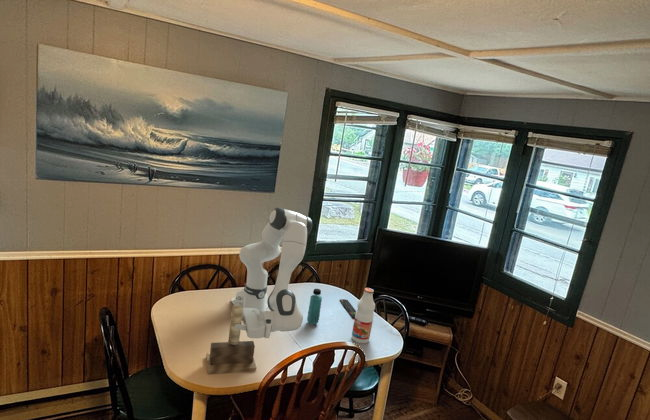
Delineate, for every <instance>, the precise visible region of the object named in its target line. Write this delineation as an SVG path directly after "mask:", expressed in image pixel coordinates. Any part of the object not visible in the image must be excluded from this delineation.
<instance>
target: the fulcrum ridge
mask: <svg viewBox="0 0 650 420" xmlns="http://www.w3.org/2000/svg"><path fill="white" fill-rule="evenodd" d="M255 347H256V346H255V342H254V340H246V341H245V340H244V341H243V340H242V341H240V340H239V343H238V344H236V345H232V344H229V342H228V341H222V342H218V341H217V342H211V343H210V349H209V354H208V353H207V354H206V355H205V358H206V359H205V360H206V369H207V370H208V371H207V374H208V375H213V374H214V375H215V374H217V373H218V374H227V373H228V374H230V373H231V374H232V373H243V372H245V373H247V372H257V365H256V360H255V358H254V355H255V349H256V348H255Z"/></svg>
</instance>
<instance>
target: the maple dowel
mask: <svg viewBox="0 0 650 420" xmlns="http://www.w3.org/2000/svg"><path fill="white" fill-rule="evenodd" d="M242 311H243V307H242V306H240V305H232V306H231V313H230V314H231V315H230V321H229V322H230V323H229V333H228V341H227V342H229V344H232V345H236V344H238V343H239V342H240V337H241V329H235V328H234V324H235V323H239V324H241V325H242V321H241V320H242Z"/></svg>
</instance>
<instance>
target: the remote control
mask: <svg viewBox="0 0 650 420" xmlns="http://www.w3.org/2000/svg"><path fill="white" fill-rule="evenodd" d="M339 302H340V304H341V305H342V306H343V307H344V310H346V312H347V313H348V314H349V317H351V318H352V320H354V319H355V314H356V311H357V310H356V309H355V307H353V305H352V304H351V302H350V301H349V300H348V299H346V298H345V299H342V298H341V299H339Z"/></svg>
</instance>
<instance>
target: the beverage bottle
mask: <svg viewBox="0 0 650 420" xmlns="http://www.w3.org/2000/svg"><path fill="white" fill-rule="evenodd" d="M312 293H313V294H311V295H310V297H309V298H310V300H309V305H308V312H307V316H306V317H307V318H306V320H307V323H308V324H312V325H317V324H318V323H319V321H320V315H321V314H320V313H321V307H322V300H323V297H322V296H321V294H322V291H321V289H320V288H314V289H313V291H312Z"/></svg>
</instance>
